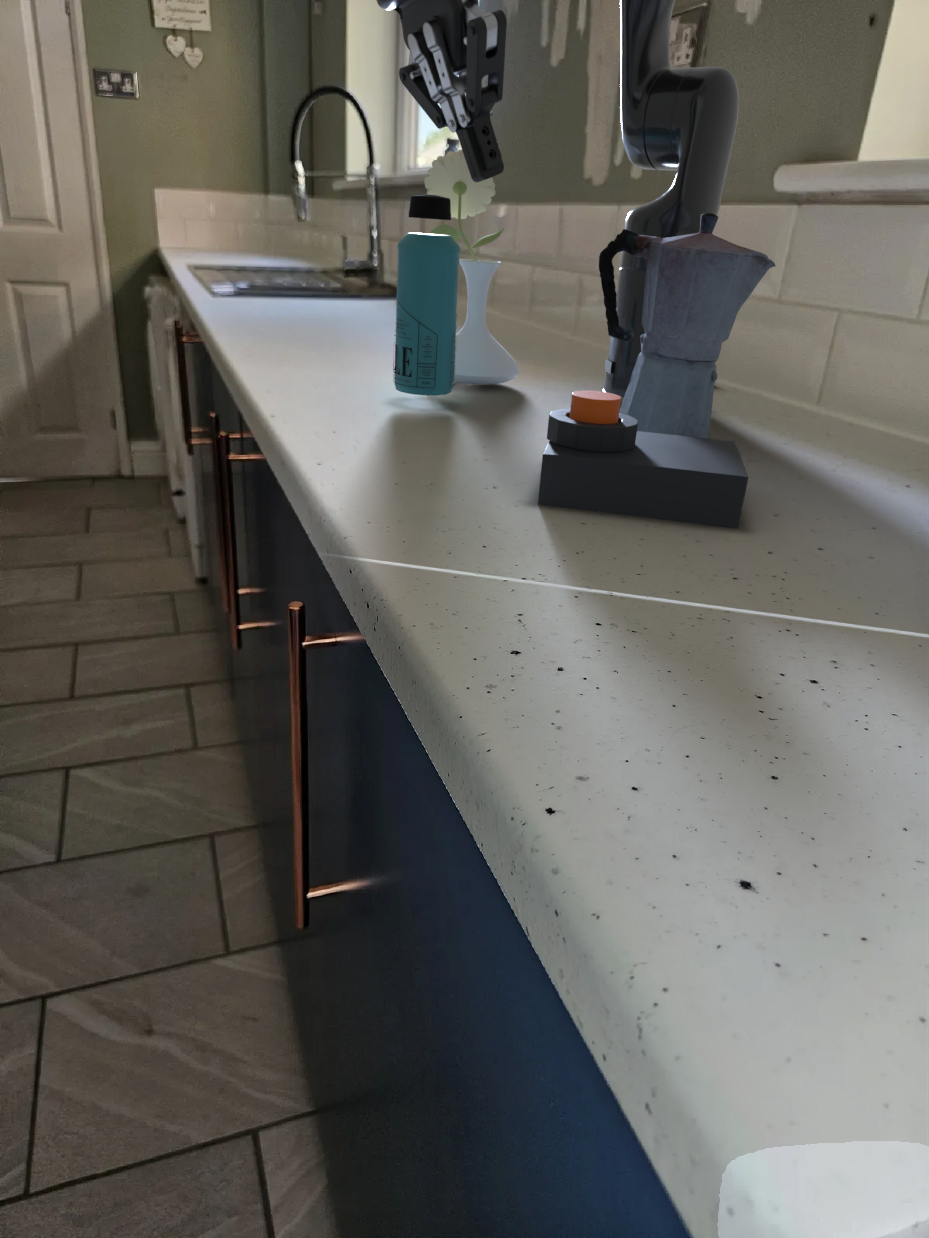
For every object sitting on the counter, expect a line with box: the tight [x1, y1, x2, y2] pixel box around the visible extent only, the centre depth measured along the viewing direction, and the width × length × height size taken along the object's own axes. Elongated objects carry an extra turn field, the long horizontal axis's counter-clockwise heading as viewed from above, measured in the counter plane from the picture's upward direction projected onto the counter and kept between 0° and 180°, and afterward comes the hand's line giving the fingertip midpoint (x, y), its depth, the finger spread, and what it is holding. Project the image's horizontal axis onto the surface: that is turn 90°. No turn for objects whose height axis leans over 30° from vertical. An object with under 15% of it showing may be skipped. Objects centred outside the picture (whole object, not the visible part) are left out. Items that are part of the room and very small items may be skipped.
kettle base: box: [537, 407, 749, 529], centre depth 65 cm, size 14×11×6 cm
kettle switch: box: [569, 390, 621, 424], centre depth 64 cm, size 4×4×2 cm
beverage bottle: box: [392, 194, 461, 397], centre depth 88 cm, size 6×7×20 cm
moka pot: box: [598, 213, 776, 439], centre depth 80 cm, size 10×15×20 cm, turn 78°
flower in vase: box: [423, 149, 520, 386], centre depth 101 cm, size 13×11×25 cm
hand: (489, 177), depth 67 cm, fingers closed
